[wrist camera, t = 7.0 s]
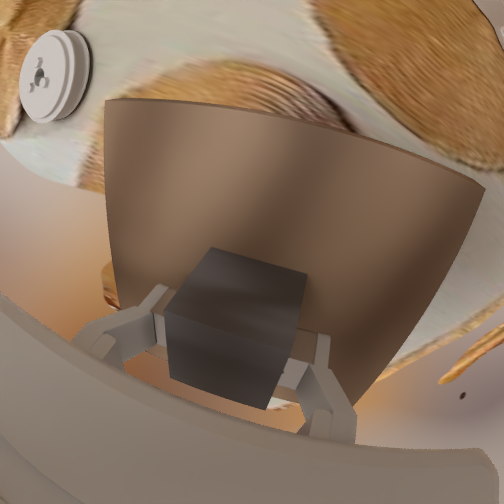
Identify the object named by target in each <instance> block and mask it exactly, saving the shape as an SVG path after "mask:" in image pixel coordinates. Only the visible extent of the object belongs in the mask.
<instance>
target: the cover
mask: <svg viewBox="0 0 504 504" xmlns="http://www.w3.org/2000/svg"><path fill="white" fill-rule="evenodd" d="M104 177H105V196H106V209H107V221H108V230H109V239H110V248H111V255H112V263H113V269H114V276H115V282H116V288H117V293H118V299H119V304H120V309H121V311H122V310H125V309H128V308H130V307H133V306H137V307H138V306H139V305H140V304H141V303H142V302H143V300H144V299H145V298H146V297H147V296H148V295H149V293H150V292H151V291H152V290H153V289H154V288H155V286H156V285H158V284H163V285H165V286H168V287H171V288H174V289H176V290H178V291H177V292H176V294H175V295H174V296H173V298H172V299H171V300H170V302H169V303H168V304H167V306H166V307H165V309H164V322H165V334H166V345H167V347H164V346H162V345H159V344H157V343H156V345H155V346H153V347H151V348H149V349H147V350H146V351H145V352H148V353H150V354H152V355H155V356H157V357H159V358H162V359H164V360H167V361H168V364H169V372H170V378H172V379H175V380H177V381H180V382H182V383H185V384H187V385H190V386H192V387H195V388H198V389H200V390H203V391H206V392H209V393H211V394H215V395H217V396H220V397H223V398H226V399H229V400H232V401H235V402H239V403H242V404H245V405H248V406H252V407H255V408H259V409H262V410H266V408H267V406H268V403H269V401H270V399H271V397H275V398H279V399H283V400H287V401H291V402H295V403H299V400H298V397H297V395H296V392H295V390H294V389H290V388H287V387H283V386H280V385H277V384H278V381H279V379H280V377H281V374H282V372H283V370H284V368H285V365H286V363H287V361H288V358H289V356H290V353H291V351H292V347H293V342H294V338H295V333H296V329H297V327H298V328H302V329H305V330H309V331H313V332H317V333H321V334H325V335H329V336H330V337H331V341H330V352H329V361H328V369H331V370H332V372H333V373H334V375H335V377H336V379H337V380H338V382H339V384H340V386H341V387H342V389H343V391H344V393H345V395H346V396H347V398H348V400H349V402H350V403H351V405H352V407H353V406H354V404H355V403H356V402H357V401H358V400H359V399H360V398H361V396H362V395H363V394H364V393H365V392H366V391H367V390H368V388H369V387H370V386H371V385H372V384H373V382H374V381H375V380H376V379H377V378H378V376H379V375H380V374H381V373H382V371H383V370H384V369H385V367H386V366H387V365H388V364H389V362H390V361H391V360H392V358H393V357H394V356H395V354H396V353H397V352H398V350H399V349H400V348H401V346H402V345H403V343H404V342H405V341H406V339H407V338H408V336H409V335H410V333H411V332H412V330H413V329H414V327H415V326H416V324H417V323H418V321H419V320H420V318H421V317H422V315H423V314H424V312H425V311H426V309H427V307H428V306H429V304H430V302H431V301H432V299H433V297H434V296H435V294H436V292H437V291H438V289H439V287H440V285H441V284H442V282H443V280H444V278H445V277H446V275H447V273H448V271H449V269H450V267H451V265H452V264H453V262H454V260H455V258H456V256H457V254H458V252H459V250H460V248H461V246H462V244H463V241H464V239H465V237H466V235H467V233H468V231H469V228H470V226H471V224H472V222H473V219H474V217H475V215H476V212H477V210H478V207H479V205H480V202H481V200H482V197H483V194H484V192H485V188H484V187H483V186H481V185H480V184H479V183H477V182H476V181H475V180H473V179H472V178H469V177H467V176H465V175H463V174H461V173H459V172H457V171H455V170H452V169H450V168H448V167H446V166H443V165H441V164H439V163H436V162H434V161H432V160H429V159H427V158H424V157H422V156H419V155H417V154H414V153H412V152H409V151H406V150H404V149H401V148H398V147H395V146H393V145H390V144H387V143H384V142H381V141H378V140H375V139H372V138H369V137H366V136H362V135H359V134H356V133H352V132H349V131H346V130H342V129H338V128H335V127H331V126H327V125H323V124H319V123H315V122H311V121H307V120H303V119H299V118H294V117H289V116H285V115H280V114H275V113H270V112H264V111H259V110H253V109H247V108H240V107H234V106H226V105H219V104H211V103H202V102H192V101H180V100H166V99H145V98H119V99H112V100H106V101H105V111H104ZM299 404H300V403H299Z"/></svg>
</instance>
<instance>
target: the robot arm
mask: <svg viewBox="0 0 504 504" xmlns="http://www.w3.org/2000/svg"><path fill="white" fill-rule="evenodd" d="M473 1H474V2H475V3H476V5H477V6H478V7H479V8H480V10H481V11H482V12H483V13H484V14H485V16H486V17H487V18H488V19H489V21H490V22H491V24H492V25H493V27H494V29H495V32H496V34H497V36H498V39H499V41H500V43H501V46H502V48H503V49H504V0H473ZM177 291H178V290H176V289H174V288H171V287H168V286H165V285H163V284H158V285H156V286H155V288H154V289H153V290H152V291H151V292H150V293H149V295H148V296H147V297H146V298H145V299H144V300H143V302H142V303H141V304H140V305H139V306H138V307H137V306H133V307H130V308H128V309H125V310H122V311H119V312H116V313H113V314H111V315H108V316H105V317H102V318H99V319H96V320H93V321H90V322H88V323H87V324H86V325H85V326H84V327H83V328H82V329H81V330H80V331H79V332H78V334H77V335H76V336H75V337H74V338H73V339H72V341H68V340H67V339H65V338H63V337H62V336H60V335H59V334H57V333H56V332H54V331H52V330H51V329H50V328H48V327H47V326H45V325H44V324H42V323H41V322H40V321H38V320H37V319H35V318H34V317H32V316H31V315H30V314H28V313H27V312H26V311H24V310H23V309H21V308H20V307H19V306H18V305H16V304H15V303H14V302H12V301H11V300H10V299H9V298H7V297H6V296H5V295H3V293H1V292H0V504H499V477H498V472H497V470H496V468H495V466H494V464H493V463H492V461H491V460H490V458H489V457H488V455H487V454H486V453H485V452H484V451H483V450H482V449H480V448H468V449H443V450H442V449H437V450H436V449H434V450H433V449H432V450H431V449H428V450H427V449H402V448H388V447H376V446H366V445H359V444H355V437H356V426H357V414H356V412H355V411H354V409H353V407H352V405H351V403H350V402H349V400H348V398H347V396H346V395H345V393H344V391H343V389H342V387H341V386H340V384H339V382H338V380H337V379H336V377H335V375H334V373H333V372H332V370H331V369H328V361H329V352H330V341H331V337H330V336H329V335H325V334H321V333H317V332H313V331H309V330H305V329H302V328H298V327H297V329H296V333H295V338H294V342H293V347H292V351H291V353H290V356H289V358H288V361H287V363H286V365H285V368H284V370H283V372H282V374H281V377H280V379H279V381H278V384H277V385H280V386H283V387H287V388H290V389H294V390H295V392H296V395H297V397H298V400H299V403H300V406H301V408H302V411H303V414H304V417H305V419H306V422H305V423H304V425H303V426H302V427H301V428H300V429H299V431H298V432H297V433H292V432H288V431H283V430H279V429H275V428H271V427H268V426H264V425H260V424H256V423H253V422H250V421H246V420H243V419H240V418H237V417H233V416H230V415H227V414H224V413H221V412H218V411H215V410H213V409H210V408H207V407H204V406H201V405H199V404H196V403H193V402H191V401H188V400H186V399H183V398H181V397H178V396H176V395H173V394H171V393H169V392H166V391H164V390H161V389H159V388H157V387H155V386H153V385H150V384H148V383H146V382H144V381H142V380H140V379H138V378H135V377H133V376H131V375H129V374H127V373H126V371H125V368H124V365H123V362H125V361H127V360H129V359H131V358H133V357H134V356H136V355H138V354H140V353H142V352H144V351H146V350H147V349H149V348H151V347H153V346H155V345H156V343H157V344H159V345H162V346H164V347H167V345H166V334H165V322H164V309H165V307H166V306H167V304H168V303H169V302H170V300H171V299H172V298H173V296H174V295H175V294H176V292H177Z"/></svg>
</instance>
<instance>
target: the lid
mask: <svg viewBox="0 0 504 504" xmlns="http://www.w3.org/2000/svg"><path fill="white" fill-rule="evenodd" d="M89 63H90V60H89V51H88V47H87V44H86V42H85V40H84V38H83V37H82V36H81V35H80V34H79V33H77V32H75V31H72V30H66V31H61V30H51V31H48V32H46V33H45V34H43V35H42V36H41V37H40V38H39V39H38V40H37V41H36V42H35V43H34V45H33V46H32V47H31V49H30V50H29V52H28V54H27V55H26V58H25V60H24V62H23V65H22V69H21V74H20V81H19V91H20V98H21V102H22V105H23V107H24V109H25V111H26V112H27V114H28V115H29V117H30V118H31V119H32V120H34V121H35V122H37V123H47V122H50V121H52V120H58V119H62V118H64V117H66V116H67V115H69V114H70V113H71V112H72V111H73V110H74V109H75V107H76V106H77V105H78V103H79V101H80V100H81V97H82V95H83V93H84V90H85V88H86V84H87V80H88V75H89Z"/></svg>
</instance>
